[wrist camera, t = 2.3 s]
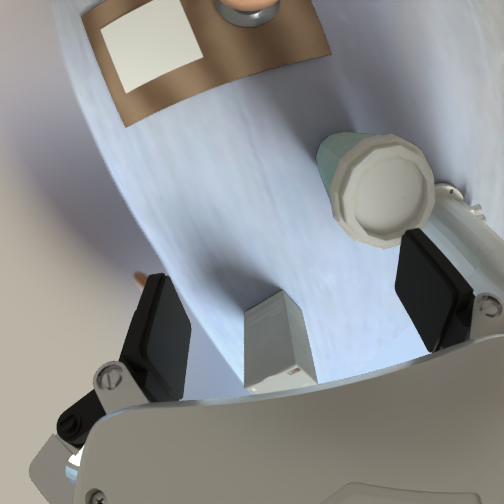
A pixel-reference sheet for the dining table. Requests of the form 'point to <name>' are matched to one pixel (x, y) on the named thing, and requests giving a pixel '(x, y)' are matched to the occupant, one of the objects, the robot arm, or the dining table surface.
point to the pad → (150, 42)
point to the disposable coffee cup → (376, 186)
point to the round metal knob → (247, 15)
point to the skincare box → (276, 347)
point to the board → (209, 51)
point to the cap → (249, 4)
